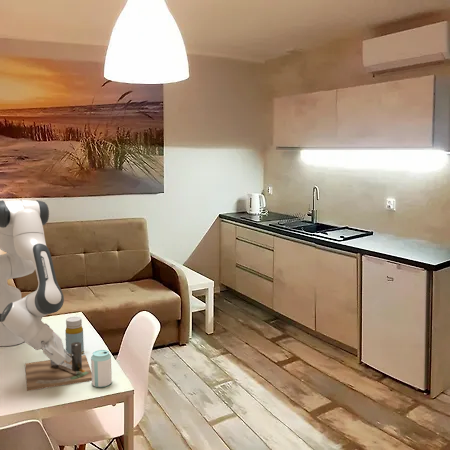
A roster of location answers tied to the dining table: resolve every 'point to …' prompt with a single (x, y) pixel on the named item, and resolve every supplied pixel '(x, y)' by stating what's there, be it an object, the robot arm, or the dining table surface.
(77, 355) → the peg lever
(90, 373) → the tuner board
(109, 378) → the can
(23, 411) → the dining table surface
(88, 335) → the dining table surface
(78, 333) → the bottle
